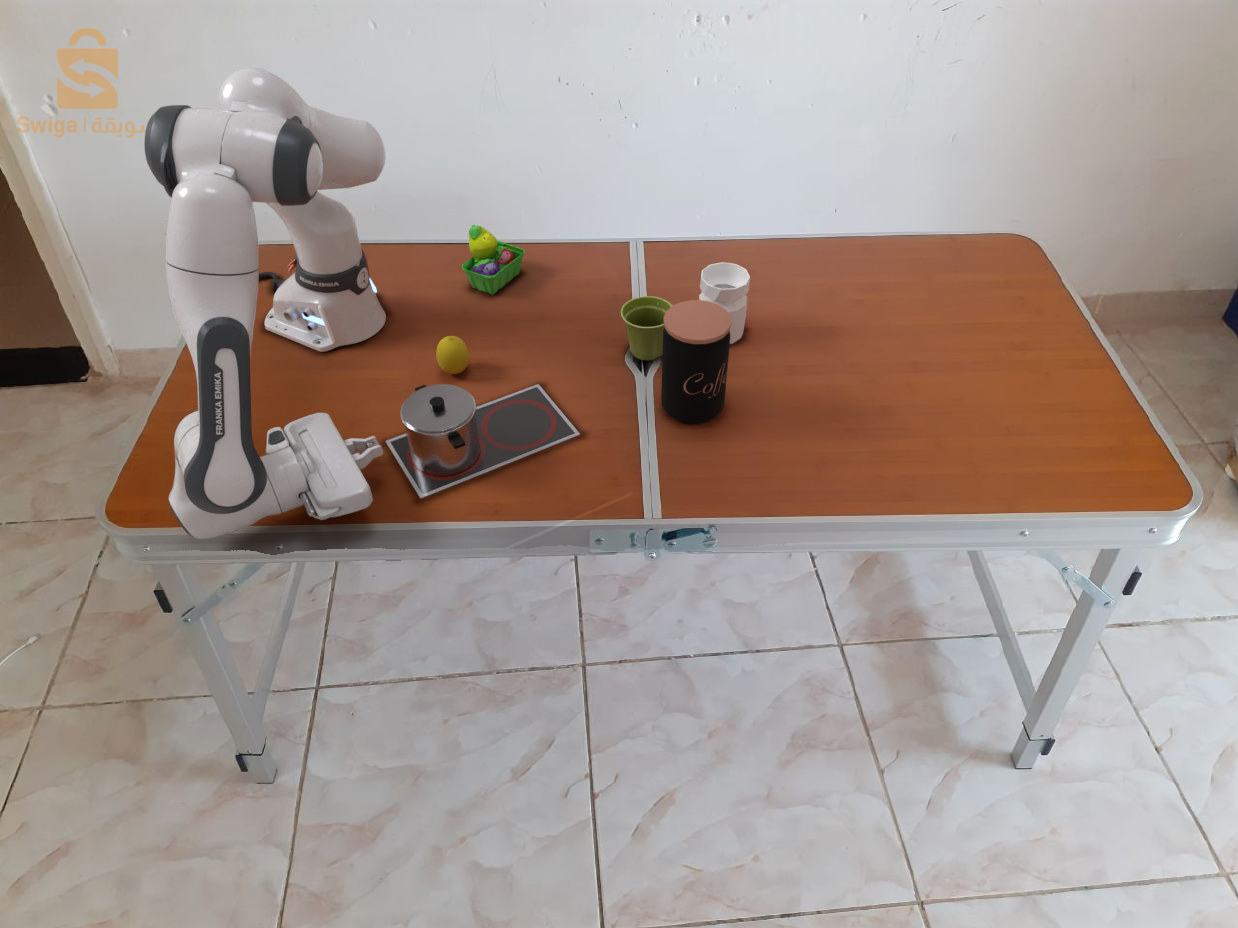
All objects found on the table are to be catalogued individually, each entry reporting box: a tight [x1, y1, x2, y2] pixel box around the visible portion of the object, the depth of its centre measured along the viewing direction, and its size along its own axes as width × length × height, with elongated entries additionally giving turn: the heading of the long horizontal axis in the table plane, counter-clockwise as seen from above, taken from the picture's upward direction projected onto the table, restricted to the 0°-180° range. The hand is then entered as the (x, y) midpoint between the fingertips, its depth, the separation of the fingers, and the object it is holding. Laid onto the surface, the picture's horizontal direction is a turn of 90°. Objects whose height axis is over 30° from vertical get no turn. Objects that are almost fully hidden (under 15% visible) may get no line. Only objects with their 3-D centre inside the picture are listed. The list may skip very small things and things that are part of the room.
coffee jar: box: [660, 299, 732, 426], centre depth 156 cm, size 11×11×18 cm
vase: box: [698, 261, 751, 345], centre depth 173 cm, size 9×9×12 cm
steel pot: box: [399, 383, 480, 476], centre depth 150 cm, size 12×16×11 cm
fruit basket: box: [461, 224, 526, 296], centre depth 186 cm, size 11×9×11 cm
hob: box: [385, 383, 581, 500], centre depth 156 cm, size 28×15×1 cm, turn 120°
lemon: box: [435, 335, 470, 375], centre depth 166 cm, size 6×6×8 cm
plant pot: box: [620, 295, 673, 361], centre depth 170 cm, size 9×9×9 cm
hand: (379, 444), depth 146 cm, fingers closed
